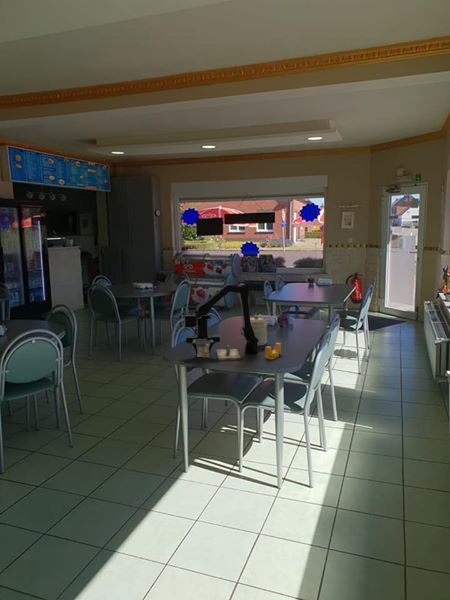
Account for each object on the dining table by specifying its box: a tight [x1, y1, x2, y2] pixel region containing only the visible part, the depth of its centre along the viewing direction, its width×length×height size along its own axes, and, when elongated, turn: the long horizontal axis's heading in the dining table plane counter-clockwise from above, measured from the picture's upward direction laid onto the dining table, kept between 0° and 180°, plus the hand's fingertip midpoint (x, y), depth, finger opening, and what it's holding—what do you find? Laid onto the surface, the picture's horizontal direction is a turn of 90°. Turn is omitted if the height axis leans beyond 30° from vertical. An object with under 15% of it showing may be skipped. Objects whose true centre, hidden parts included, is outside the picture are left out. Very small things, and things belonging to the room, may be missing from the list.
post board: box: [215, 345, 242, 361], centre depth 260 cm, size 12×18×6 cm, turn 6°
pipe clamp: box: [264, 342, 282, 360], centre depth 258 cm, size 12×4×6 cm, turn 143°
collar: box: [196, 343, 210, 358], centre depth 259 cm, size 6×6×6 cm
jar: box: [250, 314, 268, 347], centre depth 285 cm, size 13×13×18 cm
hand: (202, 354), depth 260 cm, fingers closed on collar, 6 cm apart
